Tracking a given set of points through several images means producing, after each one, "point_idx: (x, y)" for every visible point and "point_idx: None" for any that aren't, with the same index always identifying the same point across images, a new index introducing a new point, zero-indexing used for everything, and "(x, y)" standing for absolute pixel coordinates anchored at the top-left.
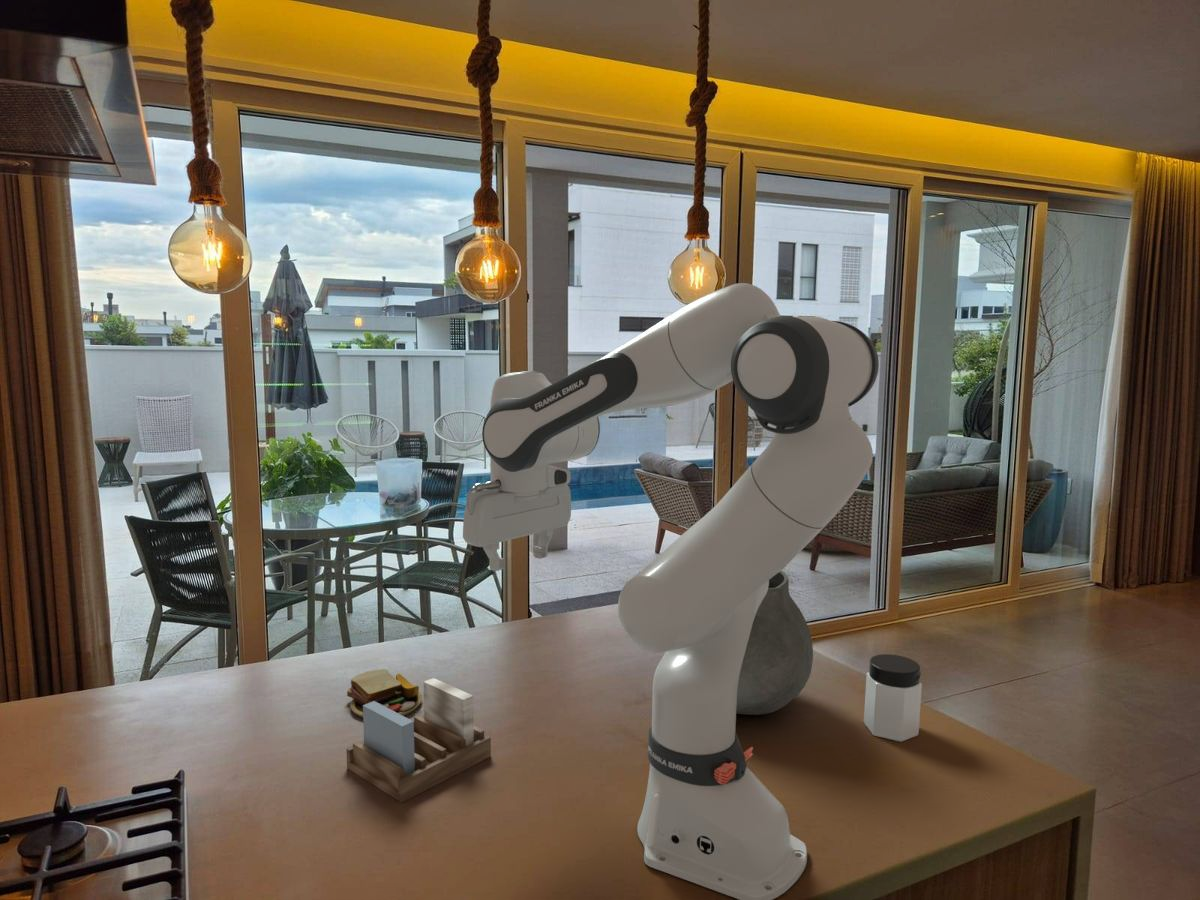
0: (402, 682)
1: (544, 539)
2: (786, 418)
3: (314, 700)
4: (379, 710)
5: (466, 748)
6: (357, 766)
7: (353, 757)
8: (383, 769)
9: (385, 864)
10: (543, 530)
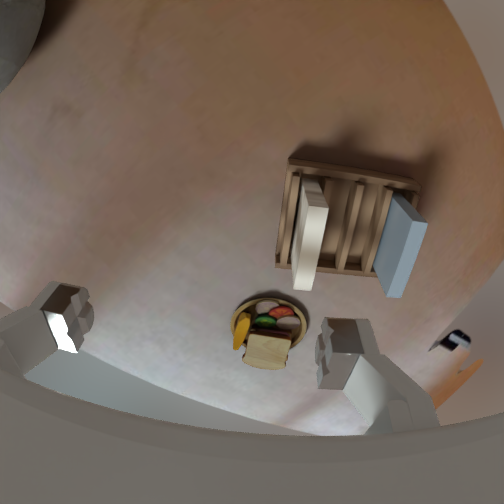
0: (241, 337)
1: (20, 343)
2: None
3: (300, 370)
4: (405, 274)
5: (329, 171)
6: None
7: None
8: None
9: (479, 128)
10: (7, 376)
